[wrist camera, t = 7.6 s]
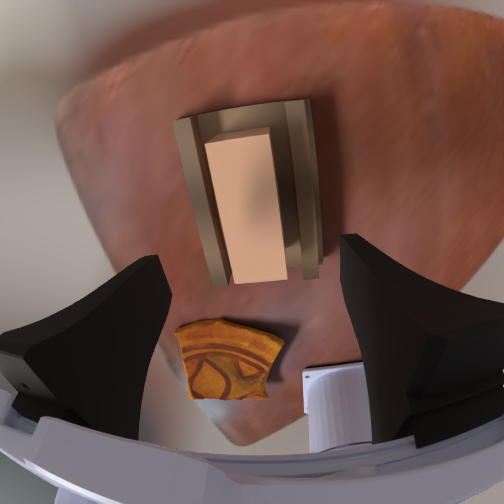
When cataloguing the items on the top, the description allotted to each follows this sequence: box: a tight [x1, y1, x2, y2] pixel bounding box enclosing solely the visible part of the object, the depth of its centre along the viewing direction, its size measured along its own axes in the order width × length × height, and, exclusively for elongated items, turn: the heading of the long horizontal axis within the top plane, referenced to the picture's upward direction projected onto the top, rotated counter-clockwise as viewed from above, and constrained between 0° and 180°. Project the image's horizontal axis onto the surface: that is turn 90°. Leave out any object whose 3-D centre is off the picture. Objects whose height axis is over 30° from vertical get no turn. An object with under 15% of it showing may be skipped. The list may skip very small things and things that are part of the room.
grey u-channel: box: [172, 99, 323, 288], centre depth 17 cm, size 11×8×2 cm
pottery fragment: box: [174, 318, 285, 400], centre depth 26 cm, size 10×5×10 cm
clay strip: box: [205, 127, 287, 284], centre depth 16 cm, size 8×3×4 cm, turn 9°
